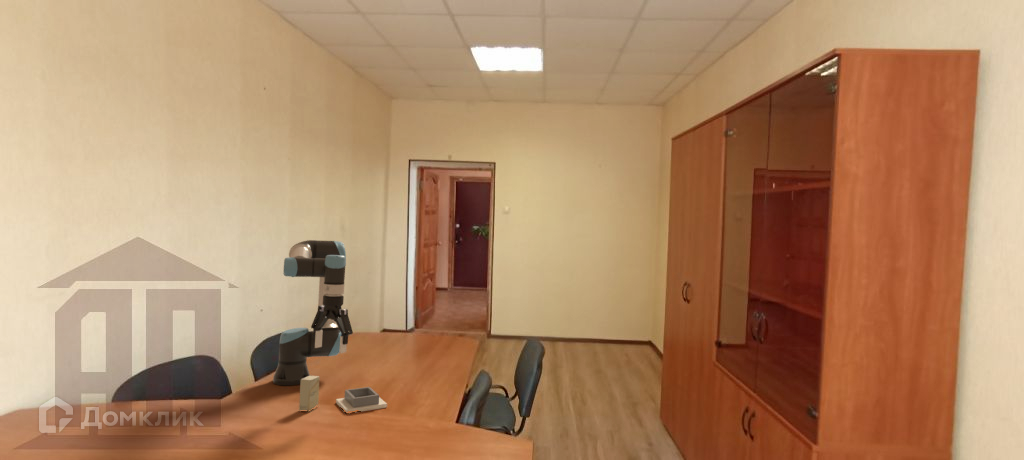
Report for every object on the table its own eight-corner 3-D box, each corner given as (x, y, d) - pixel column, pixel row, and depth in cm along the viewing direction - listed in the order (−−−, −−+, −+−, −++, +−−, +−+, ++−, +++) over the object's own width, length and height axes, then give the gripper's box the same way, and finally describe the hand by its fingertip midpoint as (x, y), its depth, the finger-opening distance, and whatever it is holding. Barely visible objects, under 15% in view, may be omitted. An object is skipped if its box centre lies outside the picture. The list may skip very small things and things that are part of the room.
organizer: (335, 402, 193) (336, 390, 193) (375, 397, 202) (375, 385, 202) (345, 413, 182) (346, 400, 182) (386, 407, 191) (387, 394, 191)
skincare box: (308, 412, 181) (310, 380, 181) (298, 411, 182) (300, 379, 182) (318, 407, 187) (320, 376, 187) (308, 406, 188) (310, 374, 188)
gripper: (303, 292, 189) (300, 346, 189) (349, 299, 177) (345, 357, 177) (319, 291, 196) (316, 343, 195) (364, 297, 184) (361, 353, 183)
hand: (330, 350), depth 186 cm, fingers open, 13 cm apart
